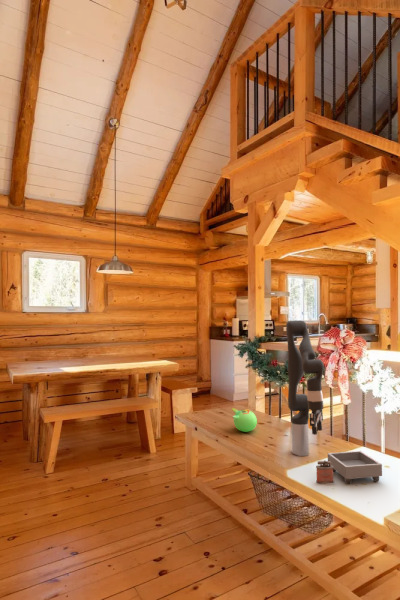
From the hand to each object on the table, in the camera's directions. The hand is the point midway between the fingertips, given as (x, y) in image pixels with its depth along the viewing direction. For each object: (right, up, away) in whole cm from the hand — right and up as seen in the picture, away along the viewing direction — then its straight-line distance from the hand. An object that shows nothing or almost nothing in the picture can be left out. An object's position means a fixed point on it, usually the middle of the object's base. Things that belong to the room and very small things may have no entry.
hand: (317, 432), depth 196 cm
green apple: (-29, -23, +69) cm, 79 cm away
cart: (+16, -19, -6) cm, 26 cm away
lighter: (0, -20, -12) cm, 23 cm away
